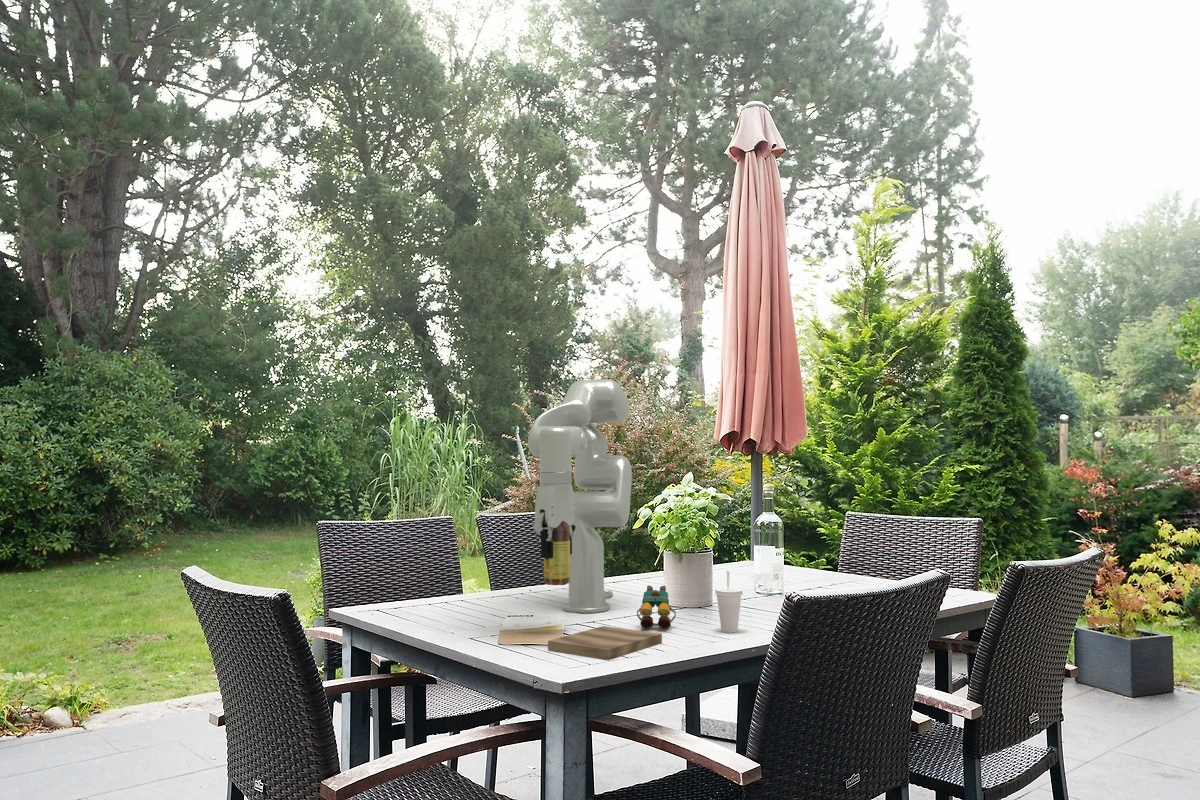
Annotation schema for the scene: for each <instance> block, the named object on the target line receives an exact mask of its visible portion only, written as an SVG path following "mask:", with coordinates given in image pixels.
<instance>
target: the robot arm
mask: <svg viewBox="0 0 1200 800" xmlns="http://www.w3.org/2000/svg"><path fill="white" fill-rule="evenodd" d="M629 413H630V402H629V398H628V396H627V395H626V393H625V391H624V390H623V387H622V386H621V385H620V384H619V383H618V382H617V381H615V380H613V379H581V380H576V381H575V382H573V383H572V384H571V385H570V386H569V388H568V389H567V392H566V394H565V396H564V398H563V400H562V402H561V404H559V405H557V406H555V407H552V408H551V409H548V410H547V411H545V412H543V413H542V414H540V415H539V416H537V418H536V419H535V420H534V422H533V424H532V426H531V427H530V430H529V434H528V437H527V446H528V449H529V452H530V454H532V455H533V456H535V457H536V458H539V486H537V490H536V495H535V506H534V507H535V508H534V523H533V525H532V529H533V530H534V531H535V533H536V535H537V537H538V540H539V541H540V557H541V558H542V559H544V558H550V559H551V558H553V541H551V538H552V534H553V530H554V529H555V528H557V527H558V526H559V525H560V524H561V522H562V521H564V522H566V523H568V526H569V530H570V533H569V538H570V582H569V583H568V602H567V603H564V604H563V605H562V609H563V611H565V612H571V613H577V614H578V613H579V614H580V613H581V614H582V613H585V614H588V613H589V614H590V613H601V612H606V611H609V610H610V609H611V605H610V603H608V602H607V600H608V599H611V598H613V597H614V593H613V591H611V590H608V591H606V590H605V571H604V570H605V567H604V566H605V565H604V564H605V555H604V550H605V549H604V548H605V547H604V546H605V545H604V541H603V539H602V537H601V536H600V534H599V533H598V532H597V530H596V529H595V528H617V527H619V528H620V527H623V526H625V525H627V523H628V522H629V521H628V520H629V518H630V510H631V509H630V508H631V498H632V497H631V496H632V495H631V494H632V493H631V492H632V481H633V480H632V479H633V478H632V477H633V475H632V466H631V462H630V460H629V459H628V458H627V457H626V456H624V455H618V454H614V455H613V454H611V455H610V454H609V455H607V451H608V441H607V438H606V437H605V435H604V434H603V433H602V431H601V430H599V428H598V427H597V426H595V425H594V424H597V423H598V424H608V423H609V424H611V423H612V424H613V423H614V424H616V423H623V422H624V421H626V420H627V419H628V416H629V415H630V414H629ZM574 457H575V460H574V471H573V475H572V469H573V468H572V458H574ZM572 477H574V483H575V486H577V488H579V489H582V490H583V491H575V492H574V489H573V483H572V481H573V480H572ZM584 490H585V491H584ZM589 490H590V491H589ZM547 525H548V527H546V526H547ZM546 531H548V533H546Z"/></svg>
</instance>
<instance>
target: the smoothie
mask: <svg viewBox="0 0 1200 800" xmlns="http://www.w3.org/2000/svg"><path fill="white" fill-rule="evenodd" d="M714 594H715V595H716V601H717V608H718V613H719V615H718V616H719V621H720V628H721V629H720V630H721V632H722V633H724V634H725V633H728V634H733V633H735V634H736V633H738V631H739V630H738V629H739V621H740V610H741V609H740V608H741V602H742V601H741V600H742V595H743V594H744V593H743V589H741V588H737V587H730V571H729V570H728V571H726V587H718V588H715V592H714Z"/></svg>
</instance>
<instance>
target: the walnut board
mask: <svg viewBox="0 0 1200 800" xmlns="http://www.w3.org/2000/svg"><path fill="white" fill-rule="evenodd" d="M662 643H663V633H661V632H660V633H659V632H652V631H644V630H639V629H638V630H637V629H629V628H622V627H620V628H619V627H614V626H606V625H602V626H597V627H594V628H591V629H587V630H583V631H580V632H575V633H572V634H568V635H564V636H560V637H556V638H553V639H550V640H548V641H547V650H548V651H552V652H558V653H563V654H571V655H577V656H583V657H588V658H595V659H600V660H601V659H602V660H607V661H609V660H613V659H615V658H616V659H617V658H619V657H621V656H625V655H628V654H631V653H635V652H638V651H641V650H643V649H644V650H645V649H647V648H650V647H653V646H656V645H660V644H662Z"/></svg>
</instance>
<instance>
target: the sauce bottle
mask: <svg viewBox="0 0 1200 800" xmlns="http://www.w3.org/2000/svg"><path fill="white" fill-rule="evenodd" d="M546 527H548V525H547V526H546ZM546 533H548V531H546ZM569 533H570V530H569V526H568V523H566V522H564V521H562V522H561V524H560V525H559V526H558V527H557V528H555V529H554V530H553V534H552V538H551V541H553V558H551V559H550V558H543V578H544V583H545V584H546V585H548V586H566V585H569V582H570V538H569Z"/></svg>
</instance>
